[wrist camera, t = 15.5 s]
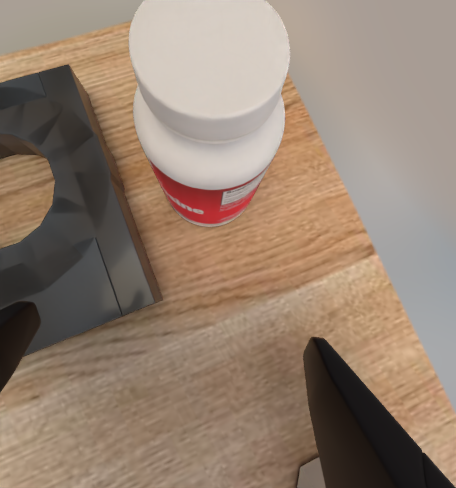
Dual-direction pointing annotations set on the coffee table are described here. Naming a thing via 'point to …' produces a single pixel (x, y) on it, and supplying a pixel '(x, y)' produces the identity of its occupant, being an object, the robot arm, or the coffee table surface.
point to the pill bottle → (209, 100)
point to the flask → (311, 475)
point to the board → (71, 215)
